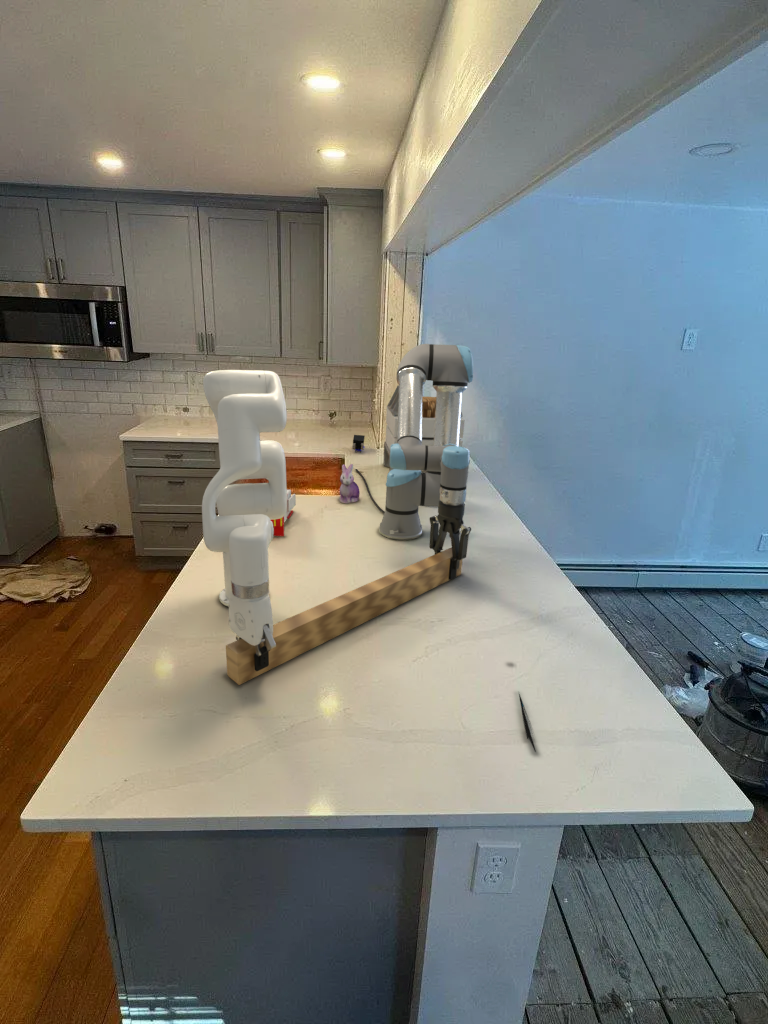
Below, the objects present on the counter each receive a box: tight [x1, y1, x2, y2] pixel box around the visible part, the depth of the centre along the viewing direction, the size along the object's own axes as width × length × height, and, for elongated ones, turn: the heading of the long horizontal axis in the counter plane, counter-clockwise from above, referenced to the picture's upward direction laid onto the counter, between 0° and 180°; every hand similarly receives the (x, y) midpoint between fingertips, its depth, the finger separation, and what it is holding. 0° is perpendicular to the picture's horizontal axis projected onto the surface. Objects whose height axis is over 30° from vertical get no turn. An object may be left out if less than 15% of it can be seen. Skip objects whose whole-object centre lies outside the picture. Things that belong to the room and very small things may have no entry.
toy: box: [271, 489, 297, 537], centre depth 204 cm, size 12×13×30 cm
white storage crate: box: [383, 384, 465, 472], centre depth 268 cm, size 34×33×41 cm
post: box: [225, 546, 464, 686], centre depth 144 cm, size 78×4×8 cm, turn 137°
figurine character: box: [351, 434, 365, 454], centre depth 311 cm, size 7×8×15 cm
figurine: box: [338, 463, 361, 504], centre depth 229 cm, size 9×10×15 cm
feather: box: [517, 691, 537, 753], centre depth 115 cm, size 2×28×2 cm
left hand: (253, 661), depth 121 cm, fingers open, 5 cm apart
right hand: (445, 575), depth 169 cm, fingers closed on post, 4 cm apart
